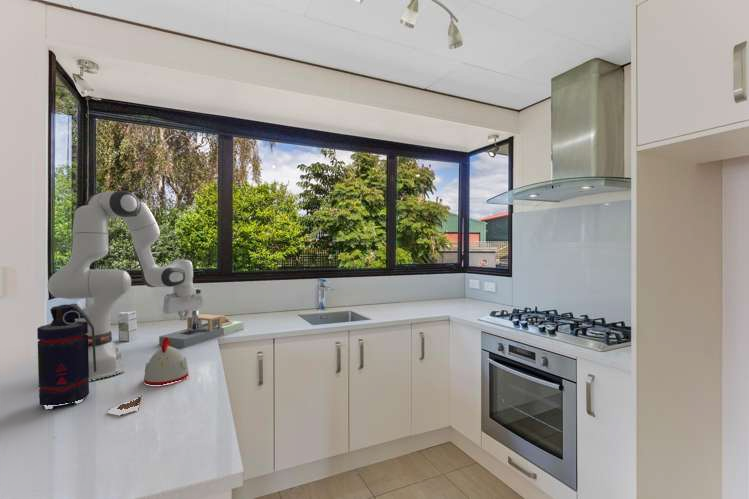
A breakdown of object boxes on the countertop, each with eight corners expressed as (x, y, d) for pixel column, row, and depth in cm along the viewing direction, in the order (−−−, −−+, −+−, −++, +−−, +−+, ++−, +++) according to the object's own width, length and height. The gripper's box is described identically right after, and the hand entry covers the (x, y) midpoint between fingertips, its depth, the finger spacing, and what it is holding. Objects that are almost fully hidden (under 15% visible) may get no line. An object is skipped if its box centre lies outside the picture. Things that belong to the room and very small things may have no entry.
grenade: (36, 414, 106) (33, 310, 105) (42, 400, 115) (39, 305, 115) (96, 402, 114) (94, 305, 113) (97, 389, 123) (95, 300, 123)
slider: (200, 332, 185) (200, 311, 184) (185, 330, 188) (185, 310, 188) (233, 322, 206) (232, 304, 205) (219, 321, 209) (218, 303, 209)
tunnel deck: (183, 347, 172) (183, 325, 172) (159, 344, 178) (159, 322, 178) (243, 328, 209) (243, 310, 209) (221, 326, 215) (221, 308, 215)
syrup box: (137, 338, 189) (137, 310, 189) (128, 341, 183) (128, 312, 183) (127, 338, 190) (126, 310, 189) (118, 341, 184) (117, 312, 184)
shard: (141, 399, 117) (141, 394, 117) (159, 403, 114) (159, 397, 114) (105, 414, 106) (105, 408, 106) (124, 419, 104) (123, 413, 104)
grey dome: (138, 388, 124) (137, 344, 124) (151, 374, 138) (150, 334, 137) (183, 384, 128) (182, 341, 128) (192, 370, 141) (191, 332, 141)
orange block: (218, 325, 199) (218, 317, 199) (211, 325, 201) (211, 317, 201) (225, 324, 204) (225, 315, 204) (218, 323, 206) (218, 315, 206)
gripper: (169, 294, 170) (169, 324, 170) (204, 289, 189) (205, 316, 189) (159, 294, 173) (160, 323, 173) (195, 289, 192) (195, 315, 192)
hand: (183, 319), depth 181 cm, fingers closed
